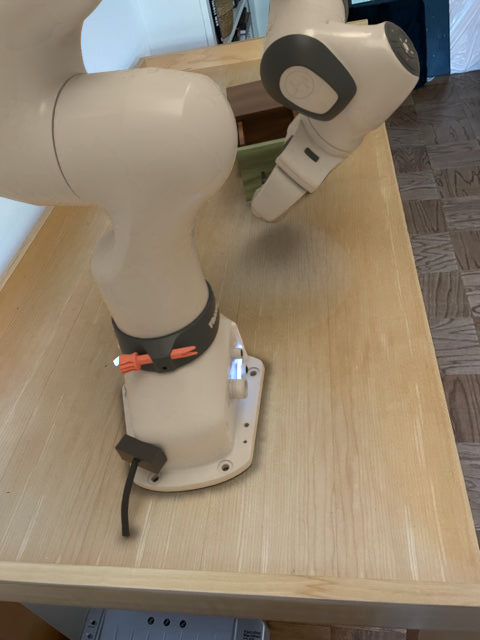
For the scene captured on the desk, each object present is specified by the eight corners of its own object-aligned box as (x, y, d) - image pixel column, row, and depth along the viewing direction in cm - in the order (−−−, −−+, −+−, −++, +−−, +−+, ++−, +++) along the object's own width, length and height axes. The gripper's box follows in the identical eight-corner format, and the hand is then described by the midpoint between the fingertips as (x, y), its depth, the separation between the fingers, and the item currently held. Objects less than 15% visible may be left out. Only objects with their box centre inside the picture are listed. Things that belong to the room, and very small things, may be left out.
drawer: (319, 198, 93) (313, 145, 86) (248, 213, 94) (236, 162, 87) (305, 152, 105) (299, 103, 98) (242, 165, 106) (232, 117, 100)
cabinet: (310, 160, 104) (303, 101, 96) (241, 175, 106) (228, 117, 98) (300, 128, 115) (293, 72, 107) (237, 141, 117) (226, 87, 108)
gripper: (325, 90, 78) (274, 151, 89) (276, 160, 66) (223, 221, 77) (357, 119, 80) (302, 176, 90) (314, 194, 67) (257, 249, 78)
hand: (265, 197), depth 83 cm, fingers closed on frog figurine, 7 cm apart
